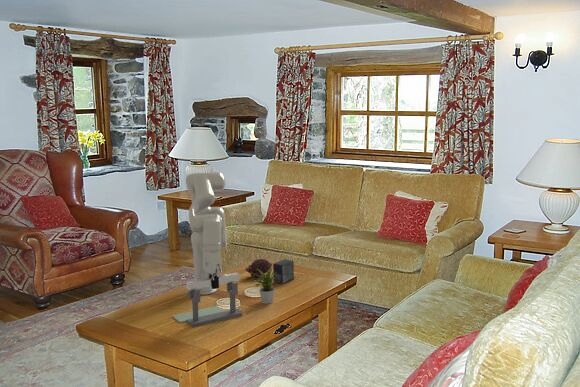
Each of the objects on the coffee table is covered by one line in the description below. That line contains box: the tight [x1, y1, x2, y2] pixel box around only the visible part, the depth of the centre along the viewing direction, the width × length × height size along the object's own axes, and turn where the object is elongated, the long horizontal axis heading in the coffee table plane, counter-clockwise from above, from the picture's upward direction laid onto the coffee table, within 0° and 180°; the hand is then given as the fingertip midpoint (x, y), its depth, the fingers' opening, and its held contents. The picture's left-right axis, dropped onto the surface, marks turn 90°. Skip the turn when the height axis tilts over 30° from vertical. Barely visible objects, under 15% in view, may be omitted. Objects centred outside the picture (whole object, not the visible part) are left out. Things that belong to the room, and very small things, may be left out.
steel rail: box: [185, 271, 241, 291], centre depth 265 cm, size 3×24×3 cm, turn 122°
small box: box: [272, 258, 295, 285], centre depth 319 cm, size 11×6×10 cm, turn 144°
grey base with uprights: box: [186, 282, 243, 328], centre depth 266 cm, size 6×24×16 cm, turn 122°
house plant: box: [251, 267, 279, 305], centre depth 288 cm, size 14×14×16 cm
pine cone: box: [245, 258, 273, 279], centre depth 327 cm, size 18×10×10 cm, turn 133°
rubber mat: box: [171, 305, 240, 324], centre depth 275 cm, size 9×29×1 cm, turn 122°
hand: (213, 286), depth 265 cm, fingers closed on steel rail, 3 cm apart
